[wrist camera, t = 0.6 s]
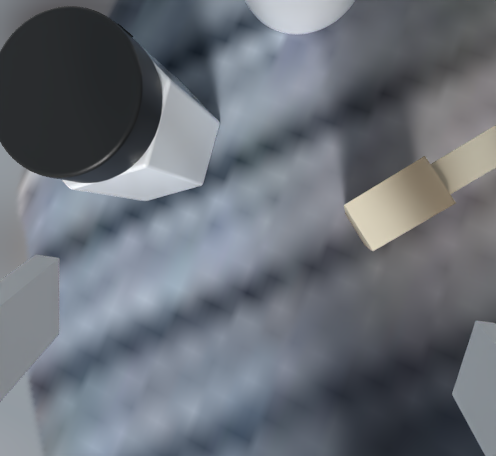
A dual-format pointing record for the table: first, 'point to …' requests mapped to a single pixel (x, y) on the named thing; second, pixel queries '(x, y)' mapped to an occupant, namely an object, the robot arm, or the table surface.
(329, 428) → the table surface
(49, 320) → the robot arm
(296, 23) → the candle holder
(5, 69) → the jar
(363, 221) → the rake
